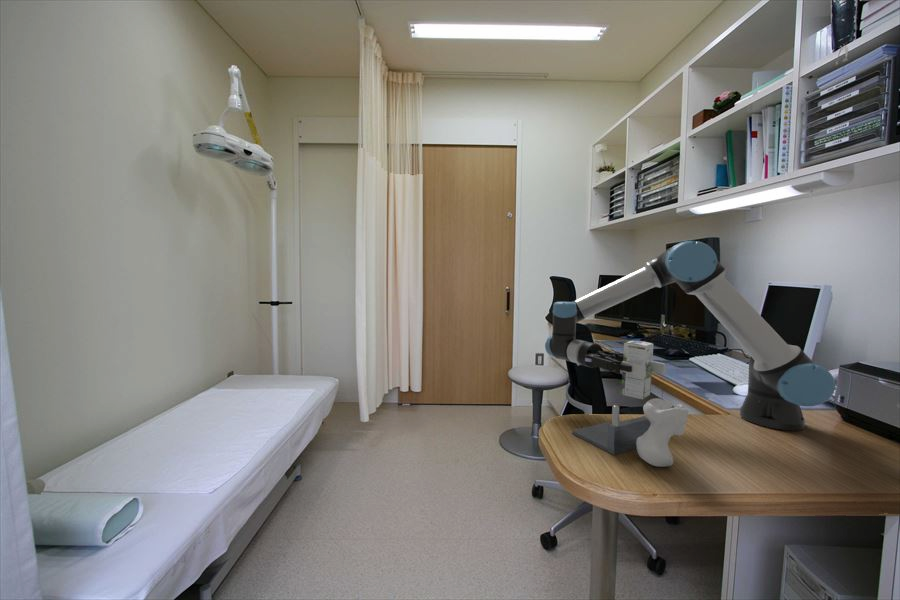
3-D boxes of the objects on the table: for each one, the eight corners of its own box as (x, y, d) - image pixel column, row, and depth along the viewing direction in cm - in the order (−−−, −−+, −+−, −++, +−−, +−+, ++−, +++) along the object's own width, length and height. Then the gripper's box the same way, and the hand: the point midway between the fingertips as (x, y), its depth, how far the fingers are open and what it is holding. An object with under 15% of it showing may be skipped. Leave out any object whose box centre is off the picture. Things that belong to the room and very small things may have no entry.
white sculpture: (628, 455, 90) (629, 396, 89) (671, 454, 91) (673, 395, 90) (652, 476, 80) (654, 410, 80) (700, 475, 81) (703, 409, 80)
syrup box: (628, 390, 102) (630, 339, 101) (651, 395, 97) (653, 342, 97) (620, 395, 98) (622, 341, 97) (644, 400, 93) (646, 345, 93)
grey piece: (607, 425, 109) (608, 386, 108) (650, 444, 96) (651, 400, 96) (572, 433, 103) (573, 392, 102) (613, 455, 90) (615, 408, 90)
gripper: (607, 362, 118) (678, 380, 97) (560, 368, 109) (627, 389, 88) (608, 339, 117) (679, 353, 97) (561, 343, 109) (628, 359, 88)
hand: (654, 370), depth 93 cm, fingers closed on syrup box, 7 cm apart
